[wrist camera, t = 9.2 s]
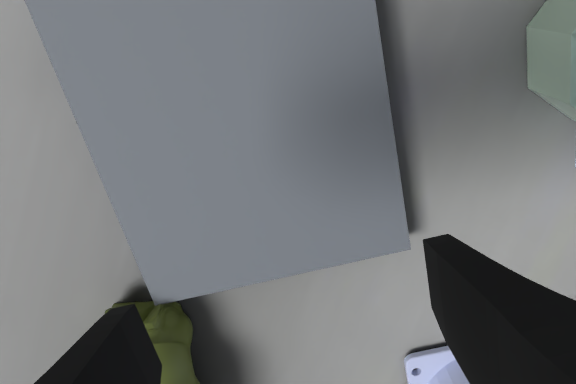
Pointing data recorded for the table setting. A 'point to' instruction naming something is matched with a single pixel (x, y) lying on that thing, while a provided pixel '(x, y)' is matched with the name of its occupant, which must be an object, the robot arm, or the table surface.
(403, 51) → the table surface
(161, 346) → the pear
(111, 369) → the robot arm
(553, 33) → the bowl
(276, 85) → the mat
